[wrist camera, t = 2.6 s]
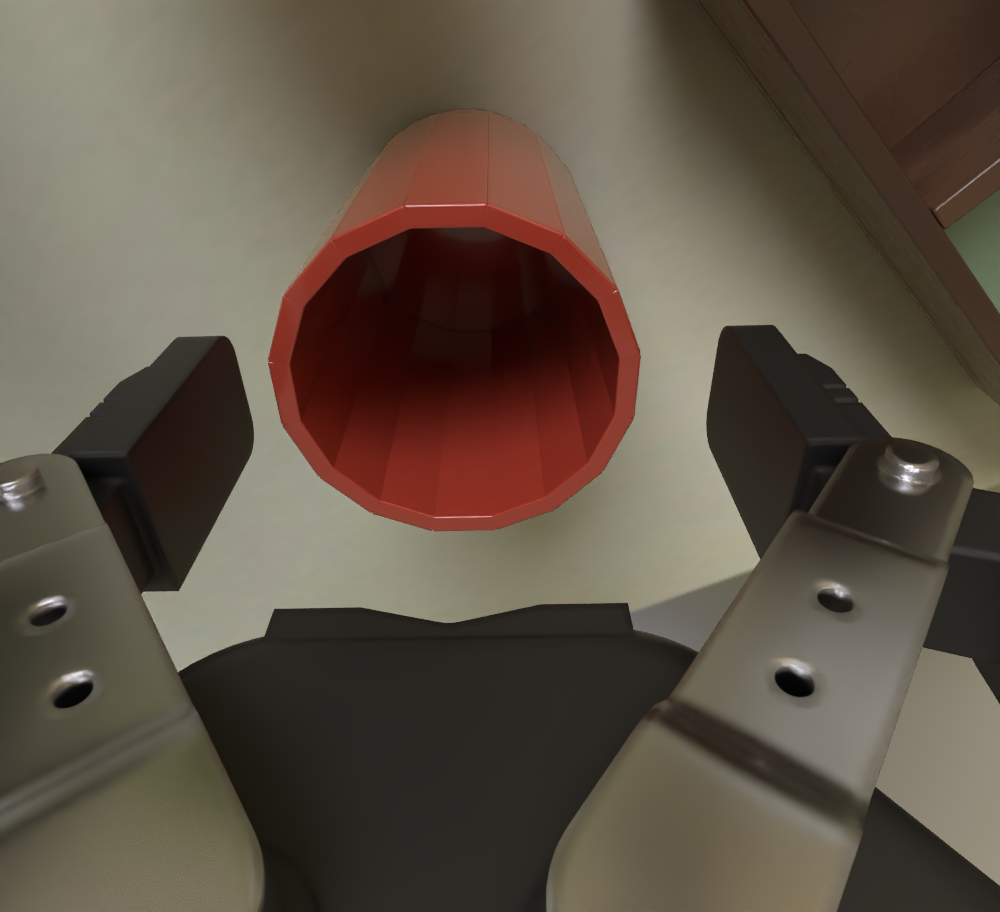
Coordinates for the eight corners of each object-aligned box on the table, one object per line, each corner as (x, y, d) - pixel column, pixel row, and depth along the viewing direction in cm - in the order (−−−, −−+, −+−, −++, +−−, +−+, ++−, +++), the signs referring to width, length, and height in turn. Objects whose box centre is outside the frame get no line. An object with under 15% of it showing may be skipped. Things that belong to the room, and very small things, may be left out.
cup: (371, 335, 21) (305, 535, 13) (343, 111, 17) (233, 208, 10) (575, 331, 21) (623, 528, 13) (586, 106, 17) (657, 199, 10)
